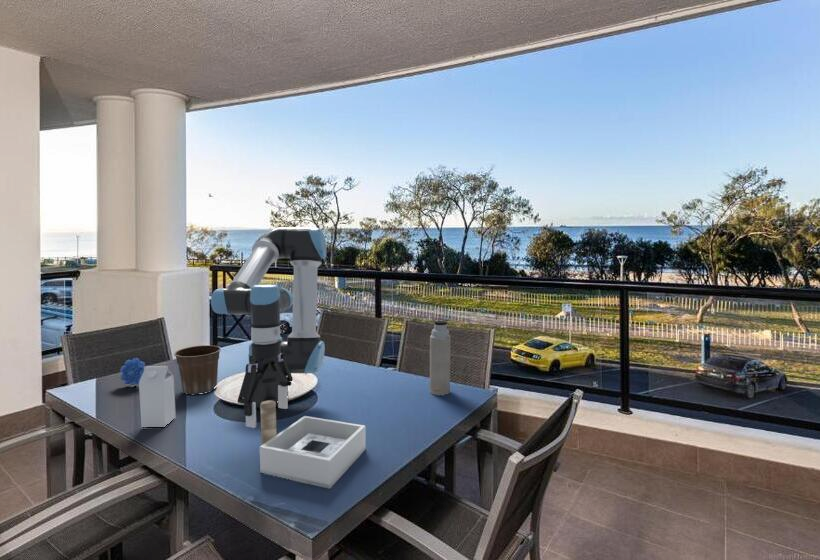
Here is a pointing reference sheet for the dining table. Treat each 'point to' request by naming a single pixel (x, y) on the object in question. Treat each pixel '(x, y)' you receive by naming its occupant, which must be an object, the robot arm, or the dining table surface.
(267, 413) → the peg
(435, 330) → the thermos bottle
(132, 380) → the grapes
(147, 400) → the milk carton
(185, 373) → the plant pot
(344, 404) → the dining table surface
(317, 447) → the bore plate
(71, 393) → the dining table surface
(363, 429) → the box
